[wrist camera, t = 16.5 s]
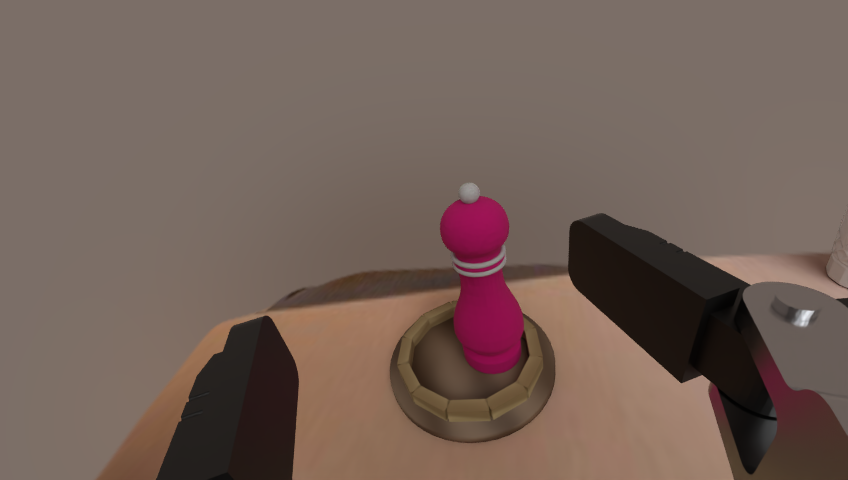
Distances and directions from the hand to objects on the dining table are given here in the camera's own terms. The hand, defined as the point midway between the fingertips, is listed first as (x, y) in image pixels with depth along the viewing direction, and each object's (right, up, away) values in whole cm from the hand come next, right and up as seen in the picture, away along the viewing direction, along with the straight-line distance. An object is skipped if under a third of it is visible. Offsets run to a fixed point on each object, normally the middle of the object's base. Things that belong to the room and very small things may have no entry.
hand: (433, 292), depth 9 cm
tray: (+5, -12, +30) cm, 33 cm away
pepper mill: (+7, -11, +29) cm, 32 cm away
